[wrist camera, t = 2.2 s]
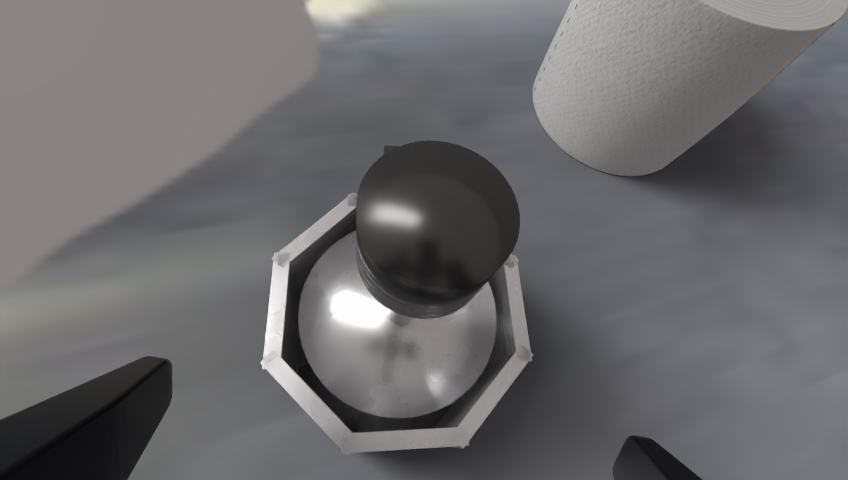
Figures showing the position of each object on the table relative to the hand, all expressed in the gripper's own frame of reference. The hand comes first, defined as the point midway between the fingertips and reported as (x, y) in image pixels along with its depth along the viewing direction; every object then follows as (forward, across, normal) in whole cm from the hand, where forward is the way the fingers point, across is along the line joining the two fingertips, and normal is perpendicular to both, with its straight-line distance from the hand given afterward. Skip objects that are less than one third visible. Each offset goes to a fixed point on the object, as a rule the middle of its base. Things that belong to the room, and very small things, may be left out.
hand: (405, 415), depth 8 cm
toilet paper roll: (+26, -13, -7) cm, 30 cm away
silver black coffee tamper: (+9, 0, +3) cm, 9 cm away
